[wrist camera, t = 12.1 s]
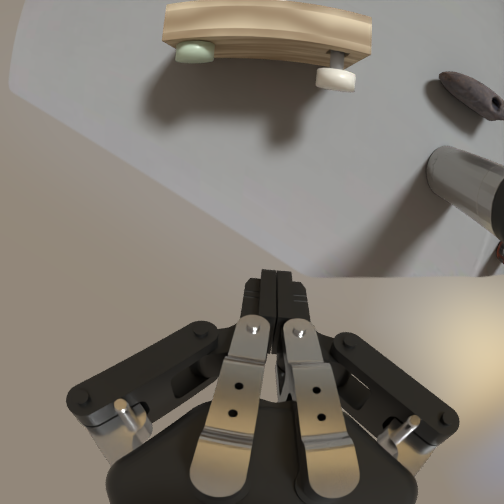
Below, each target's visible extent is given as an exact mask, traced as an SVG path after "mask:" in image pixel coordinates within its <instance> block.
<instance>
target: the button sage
mask: <svg viewBox="0 0 504 504" xmlns="http://www.w3.org/2000/svg"><path fill="white" fill-rule="evenodd" d="M214 49H215V44H213V43H211V42H207V41H185V42H181V43H178V44H177V46H176V57H175V61H176V62H180V63H208V62H212V61H213V60H214Z"/></svg>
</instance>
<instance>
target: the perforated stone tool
mask: <svg viewBox="0 0 504 504" xmlns="http://www.w3.org/2000/svg"><path fill="white" fill-rule="evenodd" d="M439 79H440V81H441V82H442V84H443V85H444V87H445V88H446V89H447V90H448V91H449V92H450V93H451V94H452V95H453V96H455V97H456V98H457V99H458V100H460V101H461V102H463V103H464V104H465V105H467V106H468V107H469V108H471V109H473V110H474V111H475V112H477V113H478V114H479V115H481V116H482V117H484V118H486V119H487V120H489V121H493V120H494V121H496V120H504V100H503V99H502V98H500V97H499V96H498V95H497V94H496V93H495V92H494V91H492V90H491V89H490V88H488V87H487V86H485V85H484V84H482V83H481V82H479V81H477V80H475V79H473V78H471V77H469V76H466V75H463V74H460V73H457V72H442V73H440V74H439Z"/></svg>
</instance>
